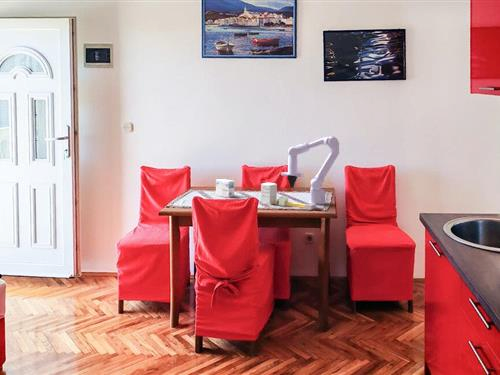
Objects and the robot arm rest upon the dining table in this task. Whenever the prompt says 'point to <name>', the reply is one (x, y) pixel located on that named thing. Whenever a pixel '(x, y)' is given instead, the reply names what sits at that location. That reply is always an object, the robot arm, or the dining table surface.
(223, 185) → the light bulb box
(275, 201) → the pale yellow rod
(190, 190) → the dining table surface
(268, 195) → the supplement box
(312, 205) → the comb
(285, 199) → the sleeve
